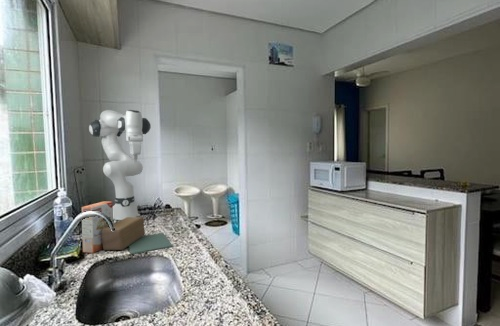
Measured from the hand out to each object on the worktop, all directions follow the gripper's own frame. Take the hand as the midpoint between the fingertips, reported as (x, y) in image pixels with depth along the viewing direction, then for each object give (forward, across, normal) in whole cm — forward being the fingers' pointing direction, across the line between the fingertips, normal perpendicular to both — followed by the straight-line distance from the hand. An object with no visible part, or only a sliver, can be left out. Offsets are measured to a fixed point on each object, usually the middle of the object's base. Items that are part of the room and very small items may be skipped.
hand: (135, 162), depth 152 cm
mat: (+39, +29, +2) cm, 48 cm away
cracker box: (+39, +23, -19) cm, 49 cm away
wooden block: (+33, +15, -2) cm, 36 cm away
